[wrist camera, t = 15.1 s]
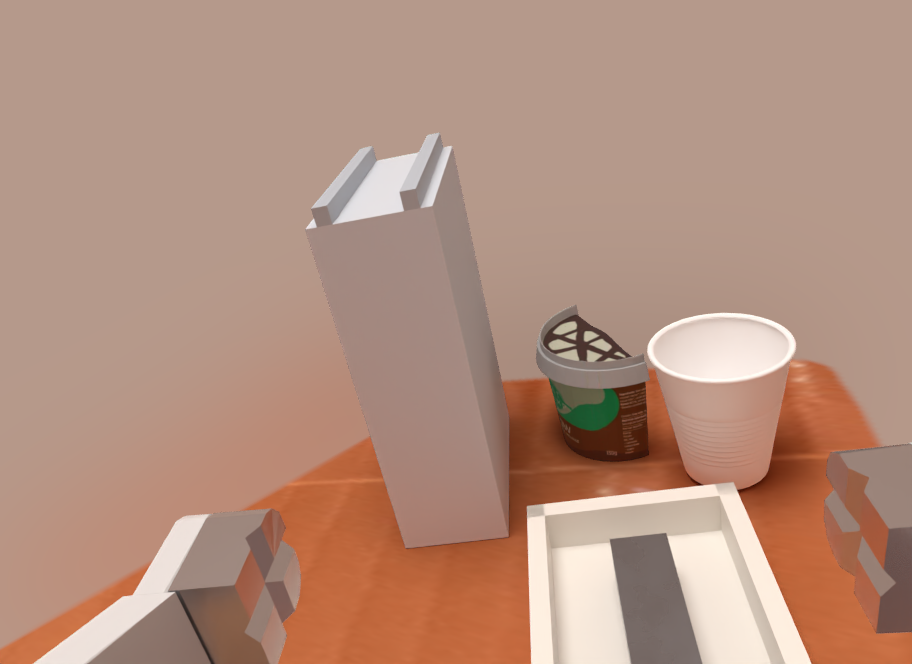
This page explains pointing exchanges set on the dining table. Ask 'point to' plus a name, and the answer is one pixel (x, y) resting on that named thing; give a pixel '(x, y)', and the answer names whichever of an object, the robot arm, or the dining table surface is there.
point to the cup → (723, 392)
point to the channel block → (418, 340)
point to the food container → (594, 389)
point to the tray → (698, 567)
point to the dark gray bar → (652, 602)
